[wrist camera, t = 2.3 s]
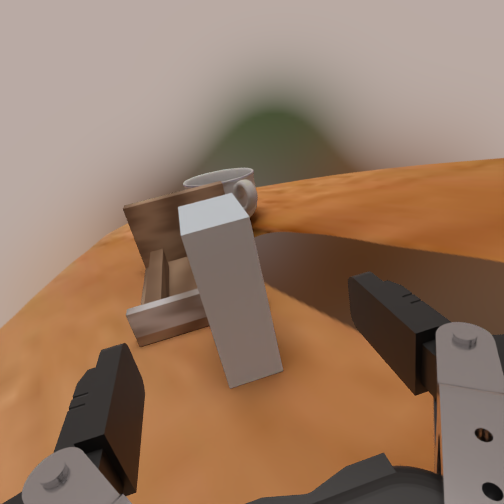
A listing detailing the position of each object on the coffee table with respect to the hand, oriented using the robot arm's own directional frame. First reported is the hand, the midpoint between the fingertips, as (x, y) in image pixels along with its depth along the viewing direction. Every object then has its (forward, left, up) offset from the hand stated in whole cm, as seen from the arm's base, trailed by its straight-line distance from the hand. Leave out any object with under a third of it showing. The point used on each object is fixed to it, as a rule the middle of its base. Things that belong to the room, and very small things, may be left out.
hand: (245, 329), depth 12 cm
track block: (+3, -24, -11) cm, 27 cm away
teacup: (-4, -40, -11) cm, 42 cm away
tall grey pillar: (0, -11, -11) cm, 16 cm away
